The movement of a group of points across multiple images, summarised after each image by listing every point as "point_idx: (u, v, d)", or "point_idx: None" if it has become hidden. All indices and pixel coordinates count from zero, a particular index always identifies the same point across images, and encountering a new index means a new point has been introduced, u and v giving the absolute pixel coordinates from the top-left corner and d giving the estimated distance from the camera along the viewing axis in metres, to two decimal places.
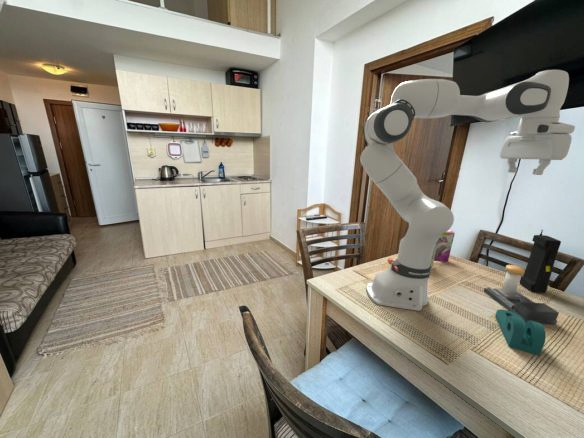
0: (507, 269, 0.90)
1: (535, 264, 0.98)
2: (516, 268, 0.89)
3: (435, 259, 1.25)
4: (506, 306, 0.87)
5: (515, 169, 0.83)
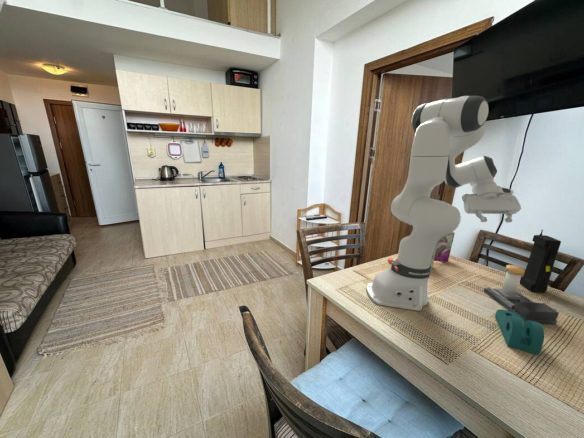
0: (507, 269, 0.90)
1: (535, 264, 0.98)
2: (516, 268, 0.89)
3: (435, 259, 1.25)
4: (506, 306, 0.87)
5: None
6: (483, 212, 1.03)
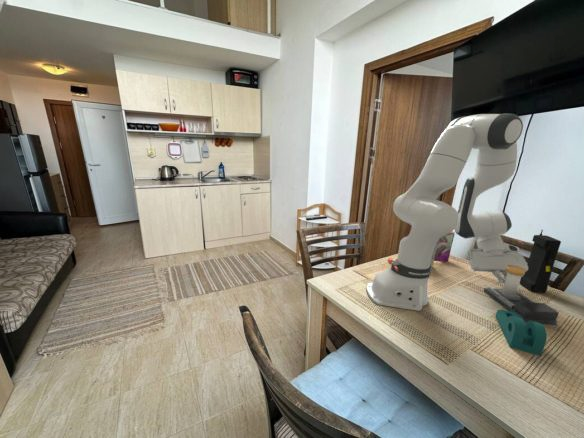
0: (507, 269, 0.90)
1: (535, 264, 0.98)
2: (517, 269, 0.89)
3: (435, 259, 1.25)
4: (506, 306, 0.87)
5: None
6: (490, 270, 0.97)
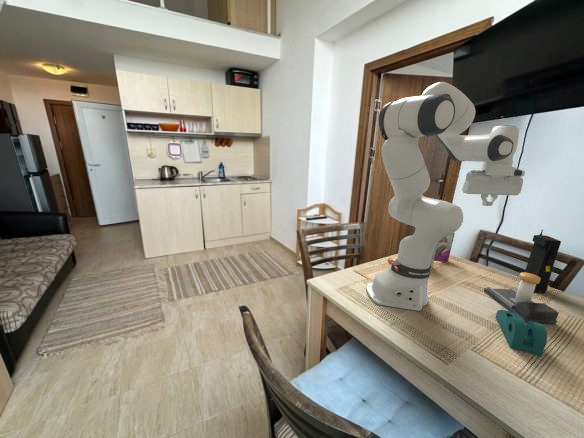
0: (521, 277, 0.84)
1: (535, 264, 0.98)
2: (531, 276, 0.83)
3: (435, 259, 1.25)
4: (506, 306, 0.87)
5: None
6: None
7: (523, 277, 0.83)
